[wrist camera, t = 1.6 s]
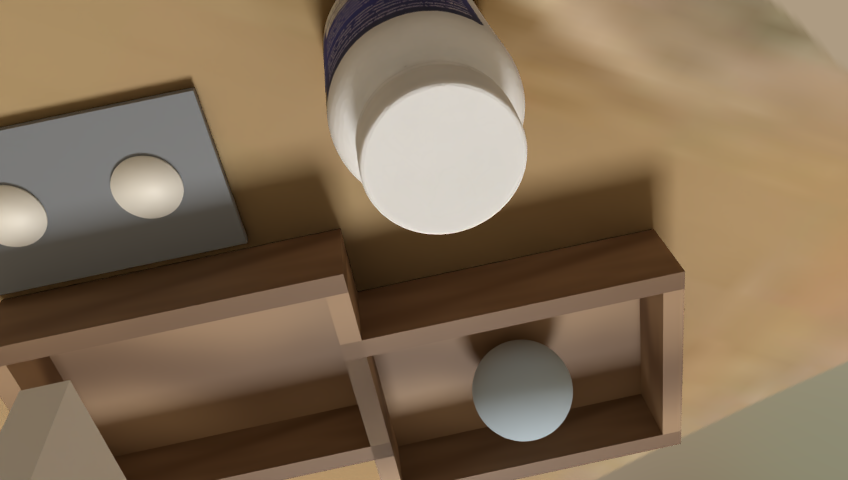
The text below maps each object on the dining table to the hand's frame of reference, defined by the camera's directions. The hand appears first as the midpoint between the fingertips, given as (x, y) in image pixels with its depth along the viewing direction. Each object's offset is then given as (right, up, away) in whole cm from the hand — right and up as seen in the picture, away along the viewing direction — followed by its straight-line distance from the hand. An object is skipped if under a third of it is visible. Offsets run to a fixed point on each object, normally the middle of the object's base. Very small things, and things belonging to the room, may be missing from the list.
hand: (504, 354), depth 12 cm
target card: (-13, +3, +14) cm, 20 cm away
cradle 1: (-10, -3, +19) cm, 21 cm away
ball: (+2, -3, +20) cm, 20 cm away
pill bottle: (-2, +8, +13) cm, 16 cm away
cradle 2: (+2, -3, +21) cm, 21 cm away
